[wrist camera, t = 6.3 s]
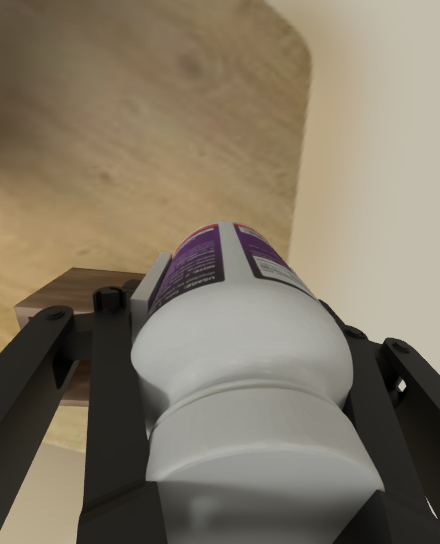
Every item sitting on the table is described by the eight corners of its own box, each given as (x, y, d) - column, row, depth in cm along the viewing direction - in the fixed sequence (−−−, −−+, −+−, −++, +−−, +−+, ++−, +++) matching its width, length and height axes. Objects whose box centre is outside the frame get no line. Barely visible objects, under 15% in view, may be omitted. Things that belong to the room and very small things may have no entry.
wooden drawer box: (72, 267, 34) (13, 306, 24) (163, 275, 35) (143, 316, 25) (85, 347, 40) (43, 404, 30) (163, 352, 41) (146, 409, 31)
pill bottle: (180, 311, 20) (111, 595, 6) (168, 220, 16) (-20, 414, 3) (270, 307, 20) (388, 577, 6) (277, 216, 16) (539, 385, 3)
